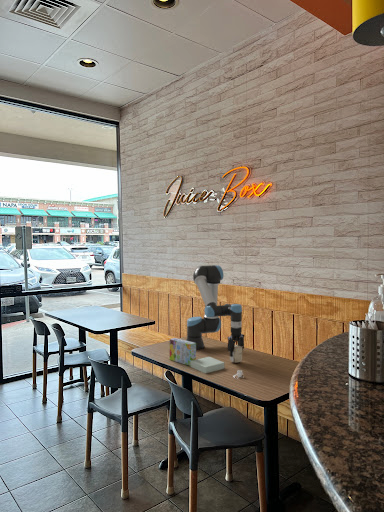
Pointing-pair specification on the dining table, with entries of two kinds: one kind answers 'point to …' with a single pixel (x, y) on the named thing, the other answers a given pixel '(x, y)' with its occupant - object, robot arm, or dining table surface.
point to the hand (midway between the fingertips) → (235, 360)
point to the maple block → (237, 354)
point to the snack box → (182, 351)
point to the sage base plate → (207, 364)
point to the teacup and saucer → (238, 373)
